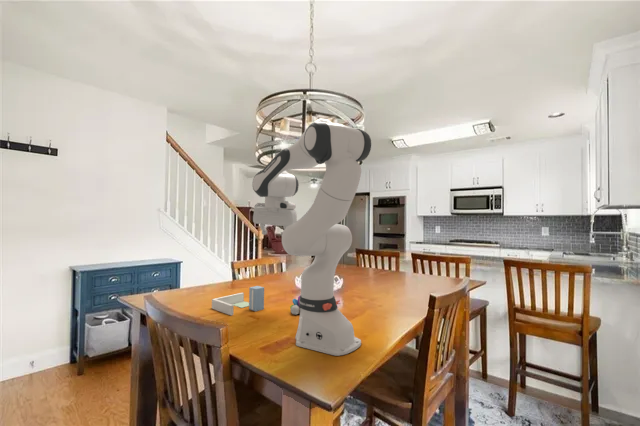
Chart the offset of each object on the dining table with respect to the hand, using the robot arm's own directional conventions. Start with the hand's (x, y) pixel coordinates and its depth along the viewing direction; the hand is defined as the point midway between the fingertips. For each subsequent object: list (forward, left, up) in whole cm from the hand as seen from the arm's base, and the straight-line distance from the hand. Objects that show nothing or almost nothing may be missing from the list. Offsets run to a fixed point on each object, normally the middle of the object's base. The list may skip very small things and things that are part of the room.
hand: (273, 235), depth 139 cm
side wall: (+12, +17, -32) cm, 38 cm away
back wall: (+19, +9, -32) cm, 39 cm away
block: (+5, +5, -32) cm, 33 cm away
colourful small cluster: (-13, -5, -33) cm, 35 cm away
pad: (+15, +5, -32) cm, 36 cm away
